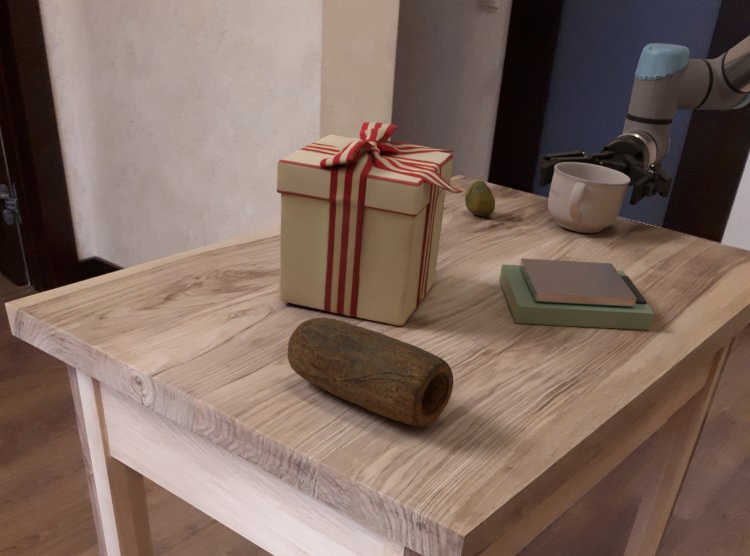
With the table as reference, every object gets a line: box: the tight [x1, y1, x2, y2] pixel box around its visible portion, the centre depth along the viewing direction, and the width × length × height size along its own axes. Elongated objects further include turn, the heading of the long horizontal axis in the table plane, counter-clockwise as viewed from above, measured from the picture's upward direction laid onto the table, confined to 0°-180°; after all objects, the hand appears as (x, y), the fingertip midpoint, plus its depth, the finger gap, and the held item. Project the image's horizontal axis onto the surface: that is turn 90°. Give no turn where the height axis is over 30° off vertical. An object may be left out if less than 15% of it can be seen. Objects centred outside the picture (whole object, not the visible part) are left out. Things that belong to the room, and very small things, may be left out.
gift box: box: [276, 121, 464, 327], centre depth 87 cm, size 17×18×17 cm
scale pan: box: [519, 257, 637, 307], centre depth 91 cm, size 11×11×1 cm
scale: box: [499, 264, 655, 331], centre depth 92 cm, size 15×13×2 cm
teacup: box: [547, 162, 630, 234], centre depth 114 cm, size 14×11×8 cm
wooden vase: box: [287, 317, 454, 427], centre depth 69 cm, size 15×7×7 cm, turn 55°
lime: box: [464, 179, 496, 217], centre depth 117 cm, size 4×5×5 cm
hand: (587, 185), depth 114 cm, fingers open, 13 cm apart
